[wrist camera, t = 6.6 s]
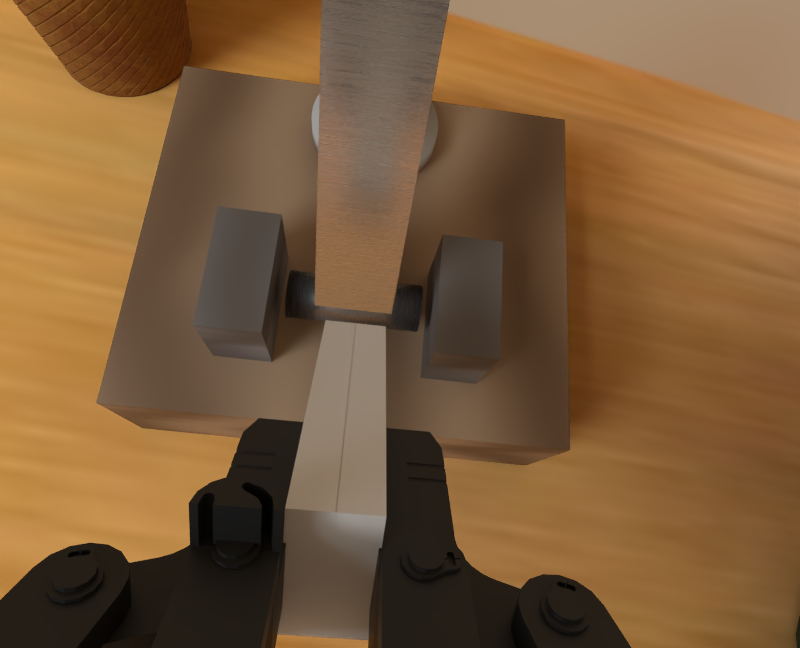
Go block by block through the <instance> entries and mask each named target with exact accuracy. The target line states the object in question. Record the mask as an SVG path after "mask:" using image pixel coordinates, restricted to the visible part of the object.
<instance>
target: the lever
mask: <svg viewBox="0 0 800 648" xmlns="http://www.w3.org/2000/svg"><path fill="white" fill-rule="evenodd" d="M449 1H450V0H322V13H321V55H320V97H319V140H318V182H317V224H316V266H315V273H313V272H305V271H296V270H291V271H290V273H289V277H288V282H287V289H286V298H285V317H286V318H295V319H304V320H312V321H321V322H325V320H329V321H339V322H349V323H358V324H368V325H378V326H386V329H392V330H401V331H410V332H417V331H418V327H419V323H420V317H421V310H422V299H423V287H422V285H415V284H406V283H398V276H399V271H400V266H401V260H402V255H403V249H404V244H405V239H406V233H407V228H408V222H409V217H410V212H411V206H412V201H413V195H414V190H415V185H416V179H417V174H418V168H419V163H420V158H421V152H422V147H423V142H424V136H425V131H426V125H427V120H428V115H429V109H430V104H431V98H432V93H433V88H434V82H435V77H436V71H437V66H438V61H439V55H440V50H441V44H442V39H443V34H444V28H445V23H446V17H447V12H448V7H449Z"/></svg>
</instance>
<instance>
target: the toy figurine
mask: <svg viewBox="0 0 800 648" xmlns="http://www.w3.org/2000/svg"><path fill="white" fill-rule="evenodd" d="M796 640H797V648H800V617H799V622H798V627H797V632H796Z"/></svg>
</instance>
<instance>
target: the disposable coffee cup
mask: <svg viewBox="0 0 800 648" xmlns="http://www.w3.org/2000/svg"><path fill="white" fill-rule="evenodd" d="M13 1H14V2H15V4H16V5H18V8H19V9H20V10H21V12H22V13H23V14H24V15H25V16H27V19H28V20H29V21H30V23H31V24H32V25H33V27H35V29H36V30H37V32H38V33H39V34H40V36H41V37H43V39H44V41H45V42H46V43H47V44H48V46H49V47H51V49H52V51H53V52H54V53H55V55H56V56H58V58H59V60H60V61H61V62H62V64H63V65H65V67H66V69H67V70H68V72H69V73H70V74H71V76H72V77H73V78H74V79H75V80H77V81H78V82H79V83H81V84H82V85H83V86H85V87H87V88H88V89H90V90H92V91H95V92H99V93H102V94H105V95H112V96H136V95H143V94H146V93H149V92H153V91H156V90H158V89H160V88H161V87H163V86H165V85H167V84H168V83H170V82H171V81H172V80H174V79H175V78H176V77H177V76H178V75H179V74H180V73H181V72H182V71H183V68H184V66H185V65H186V63H187V62H188V60H189V56H190V52H191V39H190V32H189V23H188V16H187V7H186V0H13Z"/></svg>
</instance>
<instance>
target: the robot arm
mask: <svg viewBox="0 0 800 648" xmlns="http://www.w3.org/2000/svg"><path fill="white" fill-rule="evenodd" d="M189 521H190V545H189V546H188V547H186V548H184V549H182V550H180V551H178V552H175V553H173V554H170V555H166V556H163V557H159V558H154V559H148V560H143V561H138V562H132V563H129V562H128V561H127V559H126V558H125V556H124V555H123V553H122V552H121V551H119V550H117V549H115V548H113V547H111V546H110V545H106V544H96V543H86V544H81V545H75V546H70V547H67V548H65V549H63V550H60V551H58V552H56V553H53V554H51V555H49V556H48V557H47V558H45V559H44V560H43V561H41V562H40V563H39V564H37V565H36V566H35V567H33V568H32V569H31V570H30V571H29V572H28V573H27V574H26V575H25V576H24V577H23V578H22V579H21V580H20V581H19V582H18V583H17V584H16V585H15V586H14V587H13V588H12V589H11V590H10V591H9V592H8V593H7V594H6V595H5V596H4V597H3V598H2V599H1V600H0V648H275V645H276V639H277V634H280V635H296V636H312V637H327V638H343V639H359V640H368V635H369V643H368V648H631V646H630V645H629V643H628V642H627V640H626V639H625V637H624V636H623V634H622V633H621V631H620V630H619V628H618V626H617V625H616V623H615V622H614V620H613V619H612V617H611V616H610V614H609V613H608V611H607V610H606V608H605V607H604V605H603V604H602V603H601V602H600V600H599V599H598V598H597V597H596V596H595V595H594V594H593V593H592V591H590V590H589V589H587V588H586V587H584V586H583V585H581V584H580V583H578V582H577V581H575V580H572V579H569V578H566V577H563V576H560V575H544V574H543V575H540V576H537V577H534V578H531V579H529V580H528V581H527V582H526V584H525V585H524V586H523V587H522V588H521V589H519V588H517V587H514V586H511V585H508V584H505V583H502V582H500V581H497V580H494V579H492V578H490V577H488V576H486V575H483V574H482V573H480V572H479V571H478V570H476V569H475V568H473V567H472V566H471V565H470V564H469V563H468V562H467V561H466V560H465V557H464V555H463V553H462V551H461V550H460V549H459V548H458V547H457V545H456V541H455V537H454V530H453V523H452V516H451V509H450V502H449V495H448V488H447V484H446V474H445V469H444V460H443V453H442V448H441V446H440V445H439V443H438V442H437V441H436V439H435V438H434V437H433V435H432V434H431V433H430V432H427V431H416V430H405V429H394V428H386V326H378V325H368V324H358V323H349V322H339V321H329V320H325V325H324V330H323V334H322V339H321V344H320V348H319V353H318V358H317V362H316V367H315V372H314V376H313V381H312V385H311V390H310V395H309V399H308V404H307V409H306V413H305V418H304V422H298V421H287V420H276V419H265V418H258V419H257V420H256V421H255V422H254V423H253V424H252V425H250V426H249V427H248V428H247V429H246V430H245V431H244V432H243V434H242V436H241V439H240V442H239V445H238V447H237V451H236V453H235V455H234V458H233V461H232V464H231V468H230V469H229V472H228V475H227V477H226V478H223V479H220V480H217V481H213V482H211V483H209V484H208V485H206V486H205V487H203V488H202V489H200V490H199V491H197V493H196V494H195V495H194V497H193V498H192V499H191V501H190V502H189Z"/></svg>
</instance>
